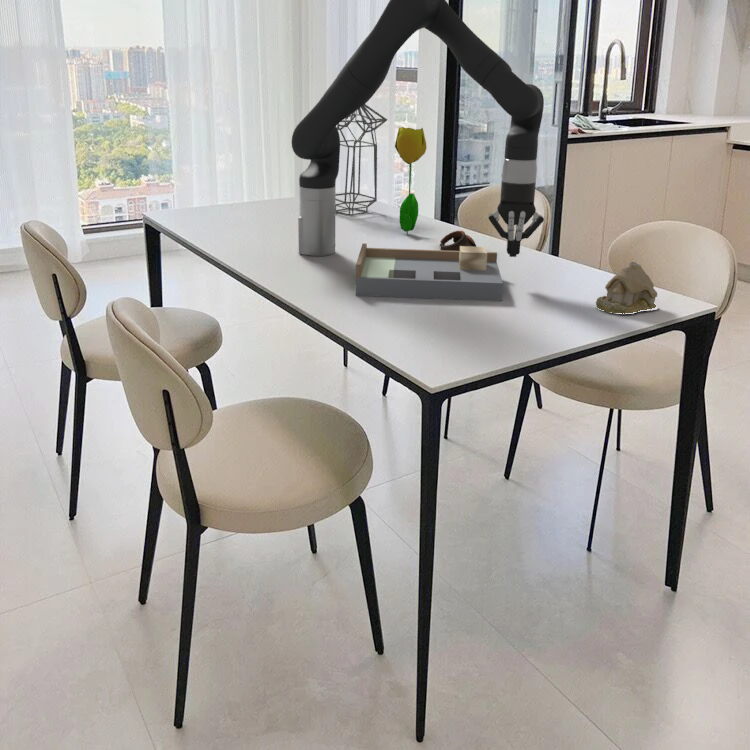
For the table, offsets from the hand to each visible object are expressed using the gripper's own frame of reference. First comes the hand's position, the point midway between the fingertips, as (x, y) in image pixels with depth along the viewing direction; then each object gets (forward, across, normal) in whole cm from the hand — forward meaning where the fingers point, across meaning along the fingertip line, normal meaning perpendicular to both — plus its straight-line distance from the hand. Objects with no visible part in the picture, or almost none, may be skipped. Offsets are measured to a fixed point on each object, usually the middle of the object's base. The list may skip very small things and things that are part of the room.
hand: (512, 256), depth 193 cm
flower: (+7, -25, +51) cm, 57 cm away
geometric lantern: (+6, -43, +80) cm, 91 cm away
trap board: (+7, -19, -3) cm, 21 cm away
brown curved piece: (+7, -11, +24) cm, 28 cm away
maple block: (+3, -9, 0) cm, 10 cm away
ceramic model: (+8, +24, -14) cm, 29 cm away
